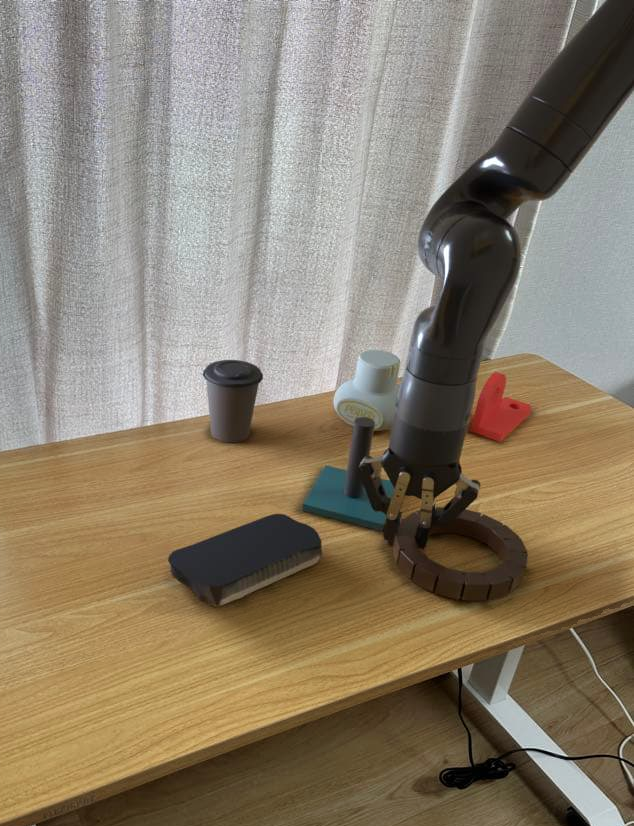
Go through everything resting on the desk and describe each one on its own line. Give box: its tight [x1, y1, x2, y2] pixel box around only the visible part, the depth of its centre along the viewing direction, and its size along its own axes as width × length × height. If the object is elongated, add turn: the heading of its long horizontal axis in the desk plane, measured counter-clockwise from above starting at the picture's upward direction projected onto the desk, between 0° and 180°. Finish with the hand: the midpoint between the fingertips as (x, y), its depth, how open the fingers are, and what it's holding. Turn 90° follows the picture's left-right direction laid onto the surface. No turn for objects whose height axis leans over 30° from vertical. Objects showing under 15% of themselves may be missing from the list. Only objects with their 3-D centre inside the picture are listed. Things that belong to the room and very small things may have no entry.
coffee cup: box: [202, 359, 264, 443], centre depth 110 cm, size 8×8×10 cm
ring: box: [392, 506, 529, 602], centre depth 91 cm, size 14×14×2 cm
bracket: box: [469, 371, 533, 443], centre depth 117 cm, size 12×4×8 cm, turn 141°
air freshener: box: [333, 349, 401, 432], centre depth 114 cm, size 11×8×10 cm
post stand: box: [301, 417, 395, 532], centre depth 97 cm, size 10×10×11 cm
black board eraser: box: [167, 513, 323, 607], centre depth 87 cm, size 16×8×4 cm, turn 126°
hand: (404, 544), depth 93 cm, fingers closed on ring, 2 cm apart
